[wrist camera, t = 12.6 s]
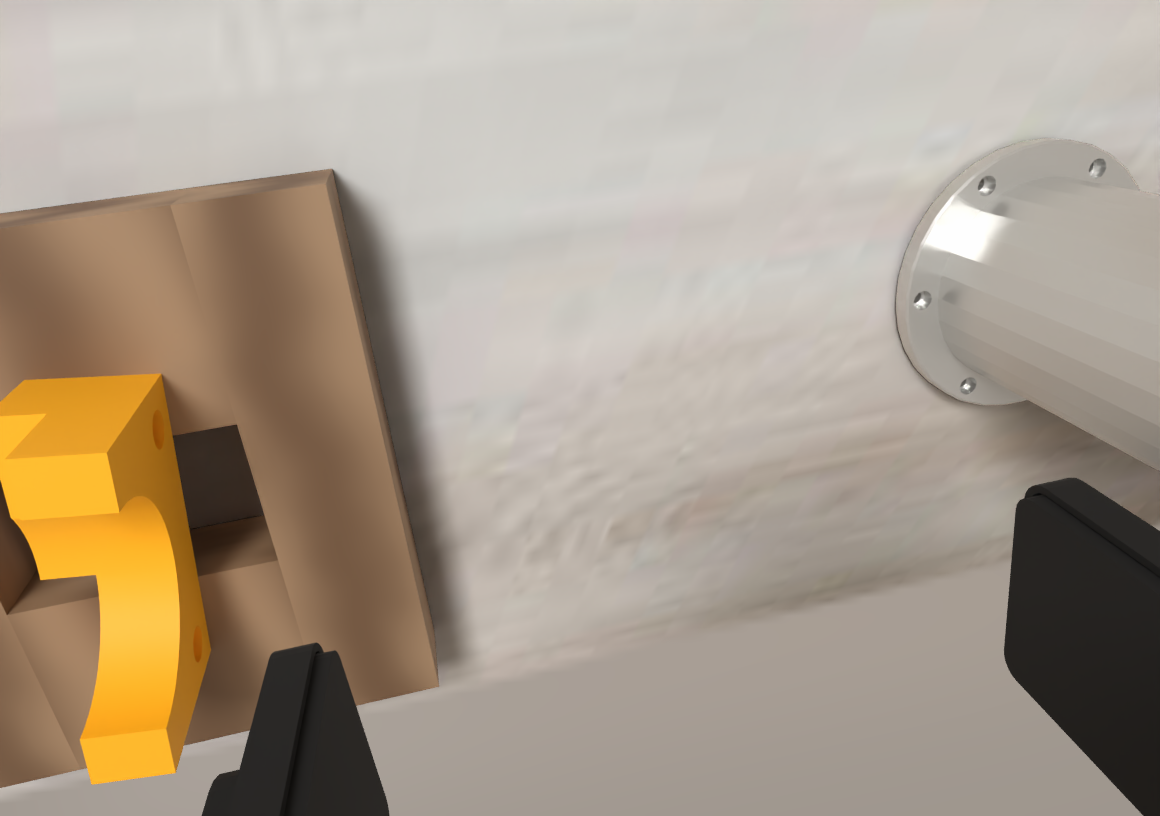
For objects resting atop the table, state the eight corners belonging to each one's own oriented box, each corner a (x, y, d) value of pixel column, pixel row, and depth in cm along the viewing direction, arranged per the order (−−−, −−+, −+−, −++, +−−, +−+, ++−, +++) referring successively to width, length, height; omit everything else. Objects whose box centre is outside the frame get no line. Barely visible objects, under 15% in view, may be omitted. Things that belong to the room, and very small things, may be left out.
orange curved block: (23, 380, 29) (-68, 463, 23) (161, 373, 29) (106, 452, 24) (93, 662, 33) (33, 792, 27) (211, 649, 34) (175, 772, 28)
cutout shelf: (332, 168, 32) (325, 183, 28) (433, 630, 41) (438, 686, 37) (-260, 248, 29) (-352, 276, 25) (-8, 727, 38) (-50, 799, 34)
